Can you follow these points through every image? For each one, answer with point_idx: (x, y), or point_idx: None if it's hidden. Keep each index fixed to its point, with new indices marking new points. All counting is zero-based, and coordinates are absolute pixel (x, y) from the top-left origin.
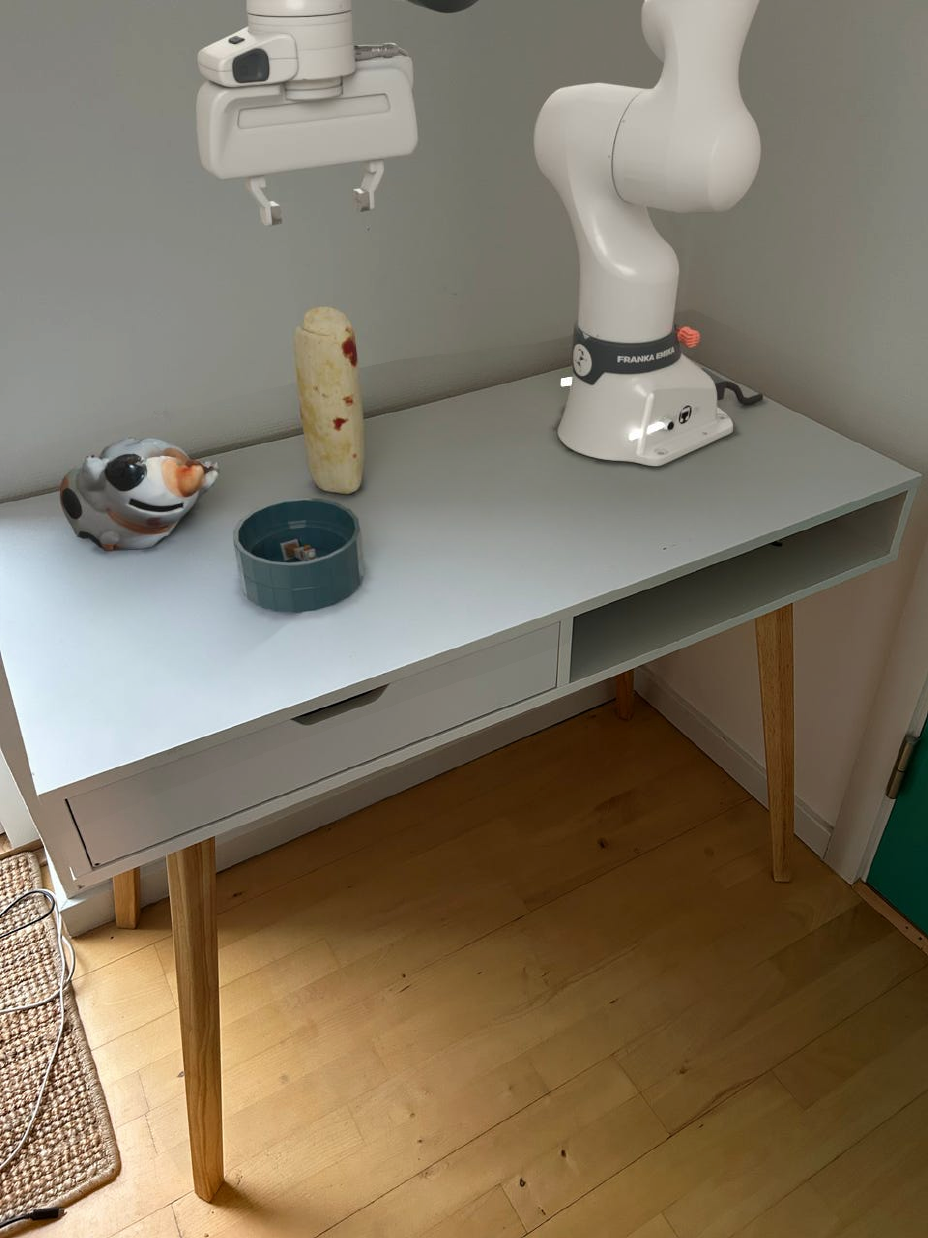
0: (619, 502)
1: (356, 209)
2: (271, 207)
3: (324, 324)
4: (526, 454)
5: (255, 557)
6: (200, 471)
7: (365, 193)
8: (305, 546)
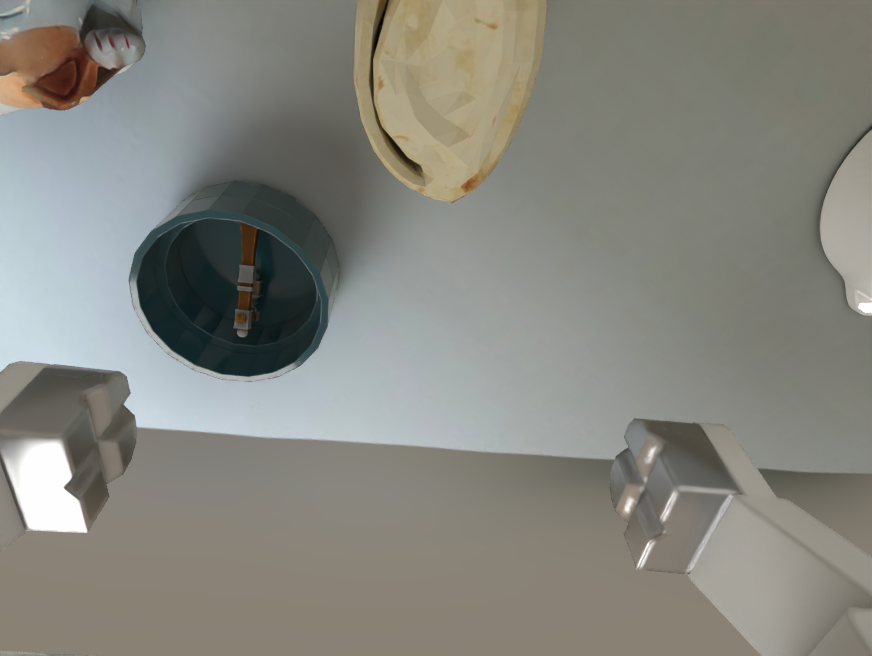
0: (723, 344)
1: (625, 434)
2: (27, 528)
3: (419, 132)
4: (765, 153)
5: (151, 332)
6: (84, 99)
7: (670, 566)
8: (237, 320)
